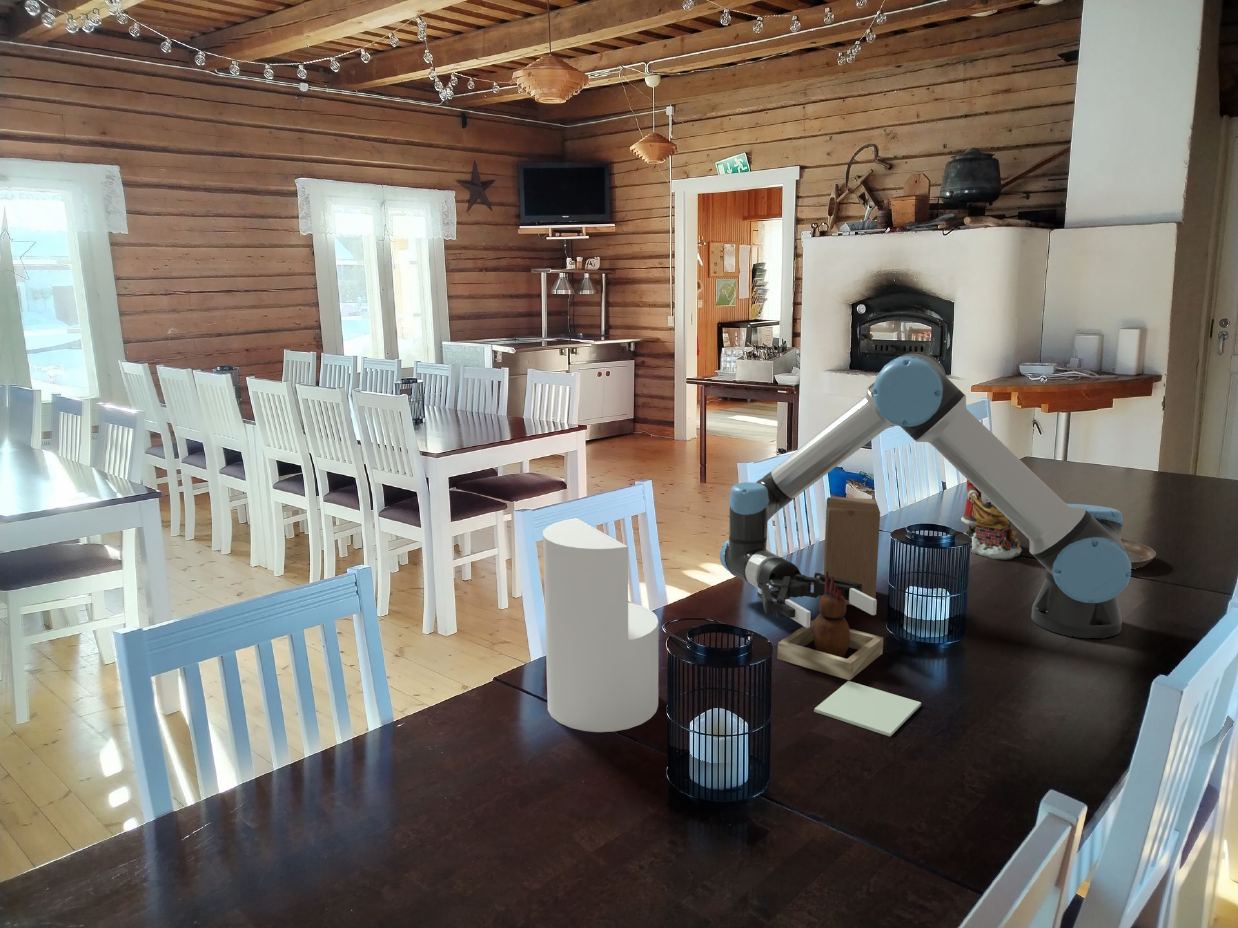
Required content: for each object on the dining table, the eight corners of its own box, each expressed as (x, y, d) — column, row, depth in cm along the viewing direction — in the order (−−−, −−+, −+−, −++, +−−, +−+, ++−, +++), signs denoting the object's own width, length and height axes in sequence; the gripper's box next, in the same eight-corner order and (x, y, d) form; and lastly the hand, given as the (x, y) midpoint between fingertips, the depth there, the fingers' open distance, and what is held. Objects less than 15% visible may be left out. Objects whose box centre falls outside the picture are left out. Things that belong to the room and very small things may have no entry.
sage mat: (920, 705, 135) (921, 702, 135) (890, 736, 126) (890, 733, 126) (848, 683, 143) (848, 680, 143) (814, 711, 134) (814, 708, 134)
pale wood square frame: (882, 653, 154) (883, 637, 154) (849, 680, 144) (850, 663, 143) (812, 634, 162) (813, 619, 162) (777, 658, 152) (777, 642, 152)
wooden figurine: (808, 648, 156) (811, 568, 153) (839, 647, 157) (843, 567, 154) (820, 665, 150) (823, 581, 147) (853, 663, 150) (857, 580, 147)
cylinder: (575, 742, 125) (571, 555, 120) (530, 693, 140) (525, 525, 135) (679, 714, 133) (680, 537, 127) (625, 670, 148) (624, 510, 142)
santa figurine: (1025, 562, 202) (1033, 456, 197) (959, 557, 206) (966, 453, 202) (1017, 543, 218) (1025, 444, 213) (957, 538, 222) (963, 441, 217)
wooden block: (875, 607, 176) (880, 510, 171) (823, 604, 178) (828, 508, 173) (871, 590, 185) (876, 498, 181) (822, 587, 187) (826, 496, 183)
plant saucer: (1056, 569, 198) (1058, 554, 198) (1050, 543, 217) (1051, 530, 216) (1162, 579, 191) (1163, 565, 190) (1145, 552, 210) (1147, 539, 209)
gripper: (827, 585, 173) (899, 622, 154) (716, 603, 164) (778, 646, 145) (828, 548, 172) (902, 582, 153) (716, 565, 163) (780, 603, 143)
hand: (842, 613), depth 149 cm, fingers open, 13 cm apart
